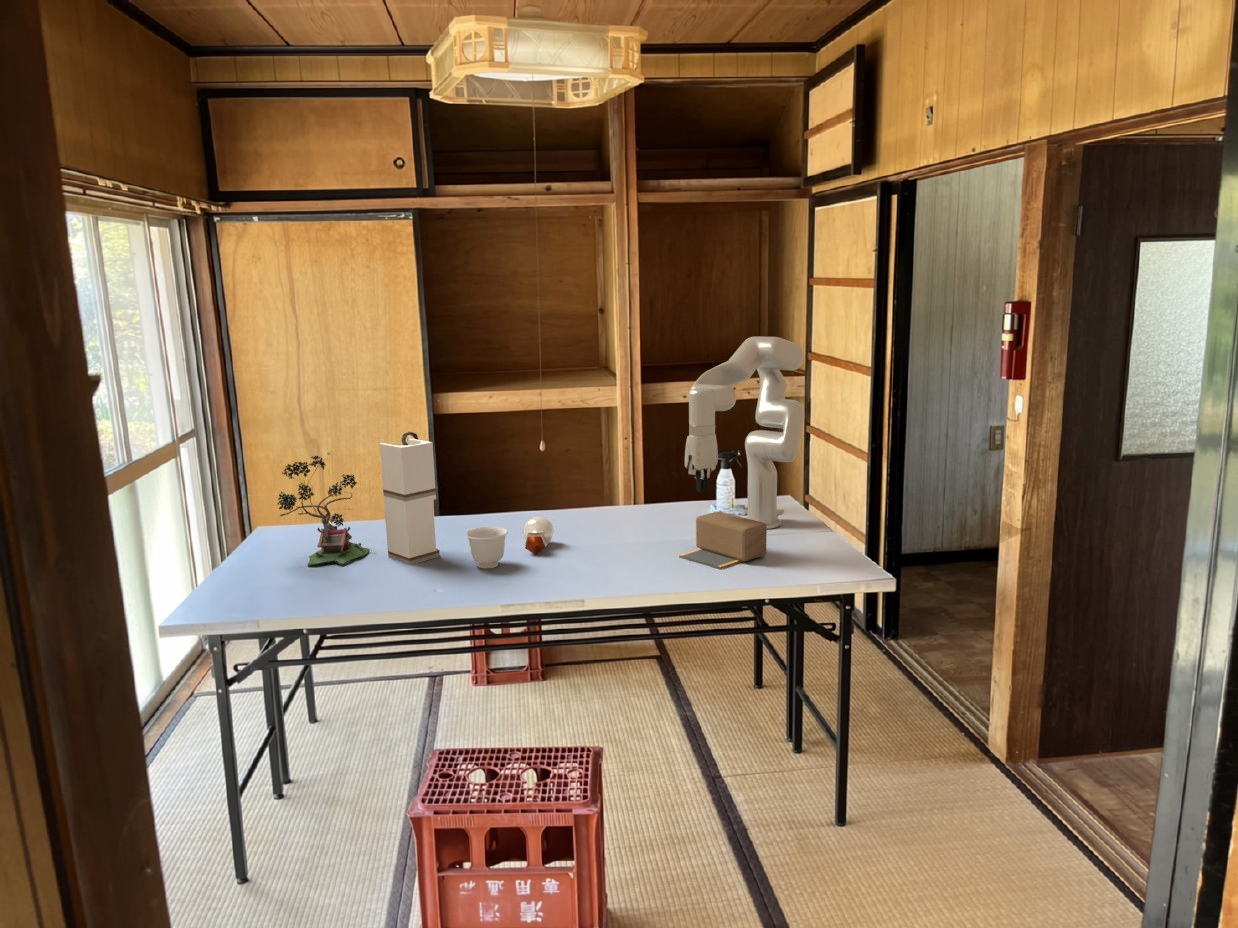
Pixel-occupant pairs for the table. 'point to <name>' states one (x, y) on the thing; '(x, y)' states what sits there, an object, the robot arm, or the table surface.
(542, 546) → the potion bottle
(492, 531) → the teacup
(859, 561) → the table surface
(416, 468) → the white banded pillar
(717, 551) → the block
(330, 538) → the bonsai tree
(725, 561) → the mat
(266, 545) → the table surface
